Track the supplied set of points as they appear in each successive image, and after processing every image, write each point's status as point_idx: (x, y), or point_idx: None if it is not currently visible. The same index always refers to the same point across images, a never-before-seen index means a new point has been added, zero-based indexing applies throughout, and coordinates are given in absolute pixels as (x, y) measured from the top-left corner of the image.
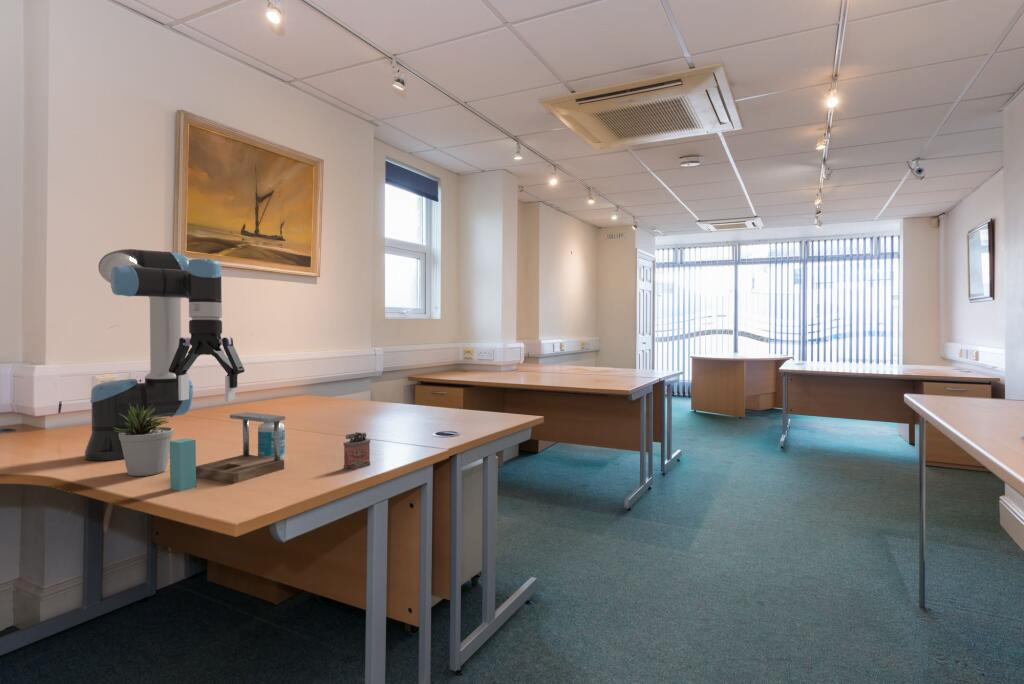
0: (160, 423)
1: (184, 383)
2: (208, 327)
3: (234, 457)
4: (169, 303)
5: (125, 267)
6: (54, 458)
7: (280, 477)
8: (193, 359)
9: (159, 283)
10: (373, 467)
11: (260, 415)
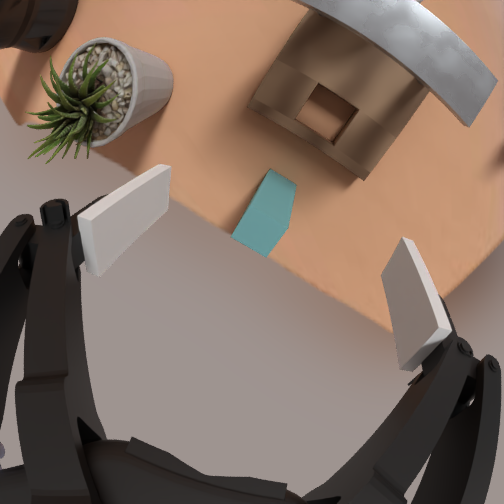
0: (102, 87)
1: (124, 226)
2: None
3: (303, 27)
4: None
5: None
6: (11, 58)
7: (435, 149)
8: (74, 354)
9: None
10: None
11: (417, 29)
